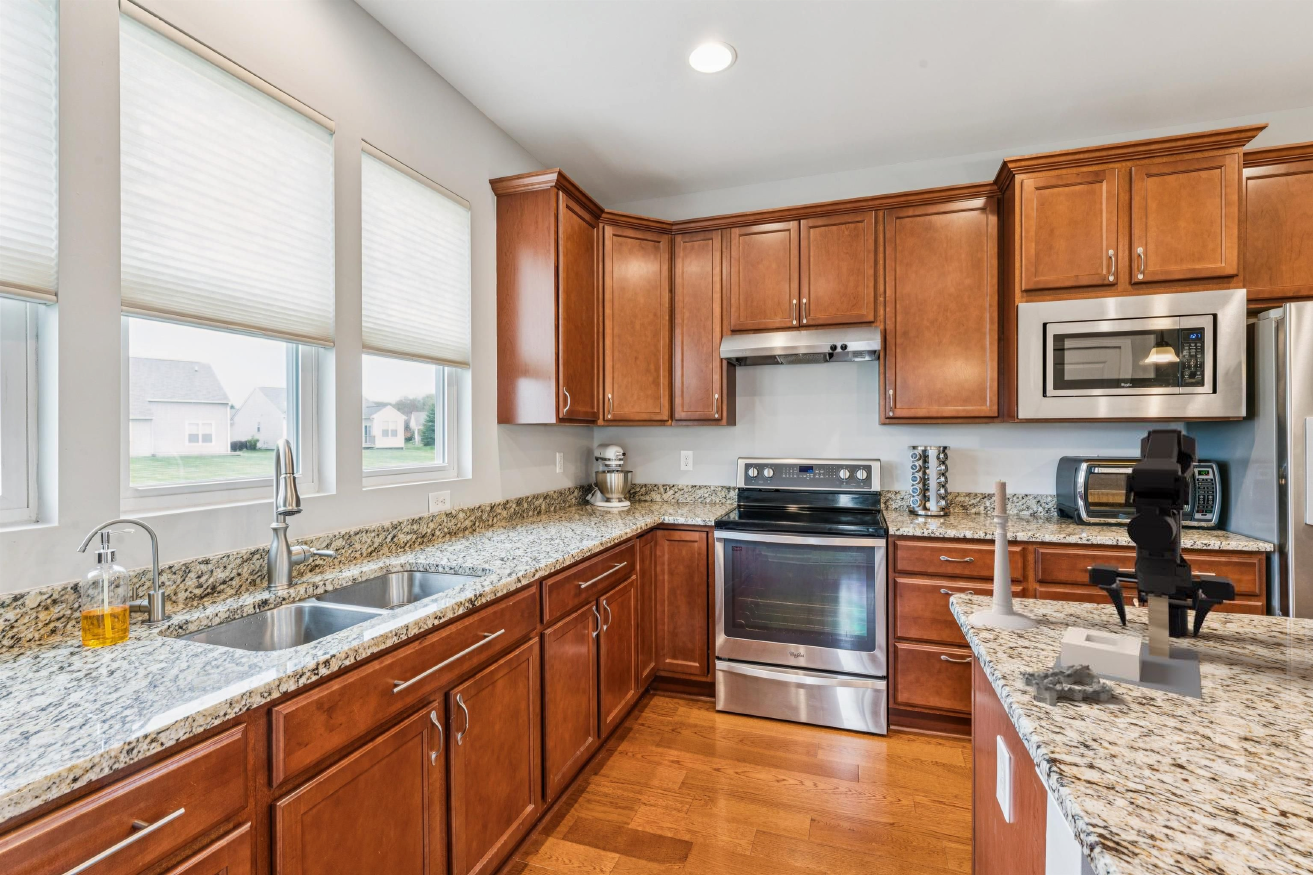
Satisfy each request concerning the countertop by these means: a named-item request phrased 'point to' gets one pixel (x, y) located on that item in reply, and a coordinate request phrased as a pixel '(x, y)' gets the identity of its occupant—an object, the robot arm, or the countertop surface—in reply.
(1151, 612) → the peg
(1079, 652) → the holder
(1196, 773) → the countertop surface
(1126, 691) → the countertop surface
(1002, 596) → the candlestick
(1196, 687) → the board
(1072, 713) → the countertop surface
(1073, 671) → the egg carton
